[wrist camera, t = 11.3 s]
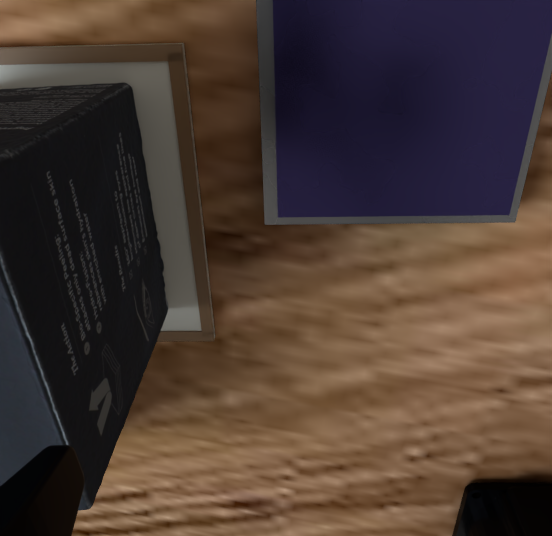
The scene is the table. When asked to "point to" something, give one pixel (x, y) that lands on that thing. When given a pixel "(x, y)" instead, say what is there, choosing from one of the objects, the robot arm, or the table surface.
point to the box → (74, 273)
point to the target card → (145, 155)
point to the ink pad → (399, 108)
